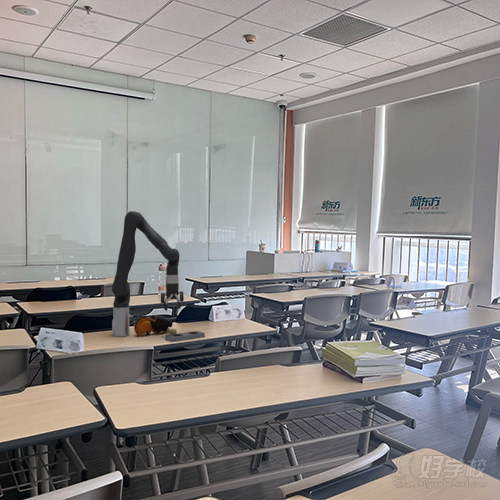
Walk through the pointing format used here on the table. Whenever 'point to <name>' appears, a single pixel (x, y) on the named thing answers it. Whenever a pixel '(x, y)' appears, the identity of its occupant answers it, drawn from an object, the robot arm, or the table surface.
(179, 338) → the grey flat block
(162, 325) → the toy guinea pig
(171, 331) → the yellow cube
